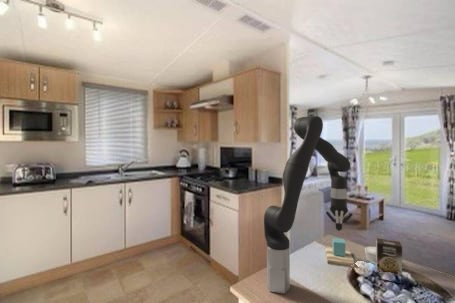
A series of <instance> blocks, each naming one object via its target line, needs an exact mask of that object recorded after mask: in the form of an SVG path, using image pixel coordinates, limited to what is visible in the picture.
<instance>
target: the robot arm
mask: <svg viewBox="0 0 455 303" xmlns="http://www.w3.org/2000/svg"><path fill="white" fill-rule="evenodd" d="M293 129H294V130H293V131H294V132H295V134H296V135H297V136H298V137H299V138H300V139H301V140H303V141H302V143H301V144H300V146H299V147H298V148H297V149H296V150H295V151H294V152H293V153H292V154H291V155H290V156H289V158H288V159H287V160H286V163H285V166H284V169H283V172H282V184H283V190H284V196H283V201H282V204H281V206H278V205H270V206H268V207H266V208H267V209H266V210H265V212H264V215H263V226H264V227H263V228H264V230H263V231H264V237H265V238H264V239H265V240H266V276H267V277H266V281H267V282H266V286H267V288H268V290H269V292H271V293H278V294H284V295H285V294H286V293H287V292H289V291H290V289H291V277H290V275H291V273H290V272H291V271H290V270H291V268H290V266H291V264H290V263H291V262H290V261H291V260H290V257H291V256H290V253H291V252H290V249H291V248H290V246H291V244H290V239H289V237H288V236H287V235H286V233H288V232H289V231H290V230H291V229H292V227H293V226H294V222H295V219H296V214H297V208H298V203H299V200H300V196H301V193H302V188H303V186H304V182H305V179H306V177H307V173H308V170H309V166H310V163H311V160H312V157H313V154H314V152H315V151H317V153H318V154H320V156H321V157H322V158H323V160H324V161H326V162H327V169H328V173H329V177H330V182H331V184H330V185H331V187H330V207H329V209H328V210H326V211H325V214H326V215H327V217H328V218H329V219H330V220H331V222H333V223H335V229H336V231H337V232H338V231H339V232H341V231H342V230H343V223H344V224H345V223H347V222H348V221H349V220H350V219H351V217H353V213H352V212H351V211H349V209H348V191H347V178H346V177H345V176H342V175H340V174H339V172H340V173H346V172H348V171H349V170H350V169H351V162H350V160H349V158H347V157H346V156H345V155H344V154H342V153H340V152H339V151H338V150H337V149H336V147H335V146H333V144H332V143H330V142H329V141H327V140H326V139H324V138H322V137H321V135H322V132H323V129H324V122H323V120H322V118H321V117H320V116H318V115H313V116H312V115H311V116H302V117H301V116H300V117H298V118H297V119H296V120H295V121H294V124H293ZM331 214H332V215H331ZM333 216H334V217H333Z"/></svg>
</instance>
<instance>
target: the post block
mask: <svg viewBox="0 0 455 303" xmlns="http://www.w3.org/2000/svg"><path fill="white" fill-rule="evenodd" d="M324 251H325V256H326V261H327V262H326V263H327V264H328V265H334V266H342V267H348V268H349V267H350V266H351V265H353V264H354V262H355V261H354V258H353V256H352V252H351V251H350V248H345V256H339V255H334V254H333V246H324ZM350 268H351V267H350Z"/></svg>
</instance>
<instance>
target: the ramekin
mask: <svg viewBox="0 0 455 303" xmlns="http://www.w3.org/2000/svg"><path fill="white" fill-rule="evenodd" d="M364 252H365V256H366V260H367V261H368V262H369V261H370V263H371V262H375V263H376V246H366V247H365V248H364Z"/></svg>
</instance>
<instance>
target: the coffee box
mask: <svg viewBox="0 0 455 303" xmlns="http://www.w3.org/2000/svg"><path fill="white" fill-rule="evenodd" d="M375 247H376V264H375V269H376V268H377V270H378V271H379V272H391V273H394V274H399V275H402V276H403V245H402V243H401V242H400V241H396V240H391V239H384V238H378V237H376V238H375Z"/></svg>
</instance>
